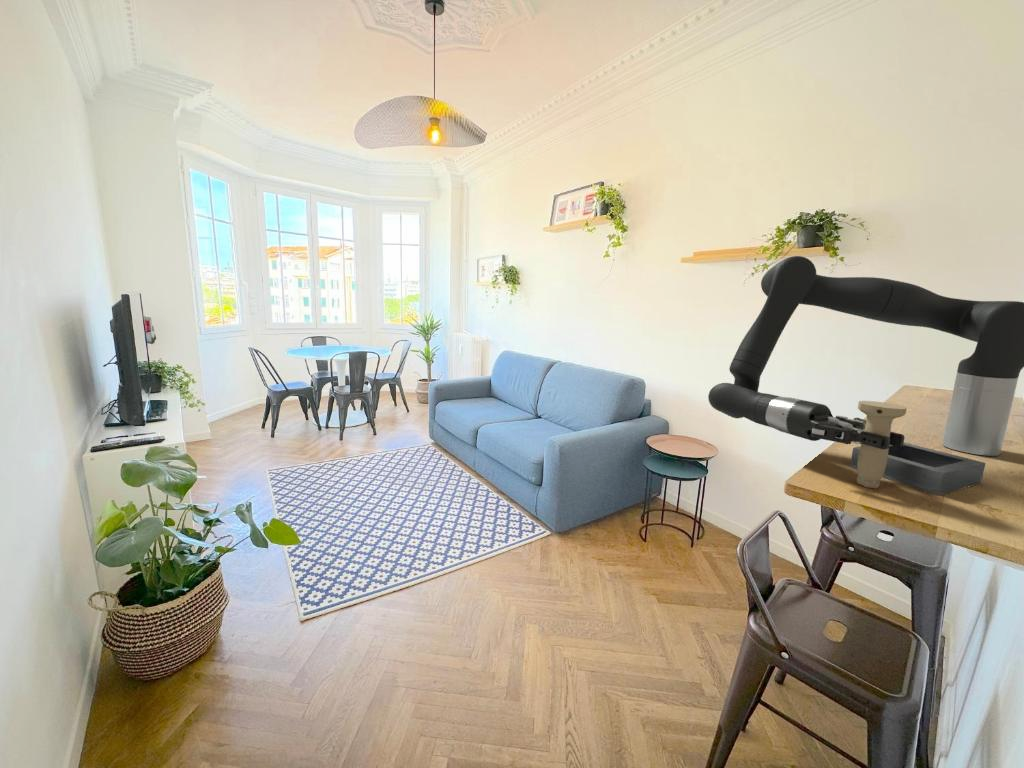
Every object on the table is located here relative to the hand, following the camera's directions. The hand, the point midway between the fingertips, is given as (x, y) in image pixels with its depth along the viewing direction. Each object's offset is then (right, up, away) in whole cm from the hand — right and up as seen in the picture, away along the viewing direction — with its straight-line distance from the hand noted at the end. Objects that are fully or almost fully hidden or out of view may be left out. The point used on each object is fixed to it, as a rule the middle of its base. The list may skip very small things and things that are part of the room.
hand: (895, 442), depth 74 cm
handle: (-1, -9, +4) cm, 10 cm away
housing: (+12, -7, +9) cm, 17 cm away
